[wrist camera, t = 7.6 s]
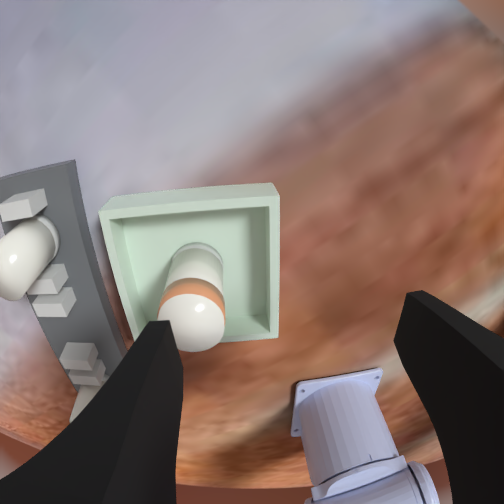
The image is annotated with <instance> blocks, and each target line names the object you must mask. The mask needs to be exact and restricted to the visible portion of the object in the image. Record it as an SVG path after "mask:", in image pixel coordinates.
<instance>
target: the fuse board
mask: <svg viewBox="0 0 504 504" xmlns="http://www.w3.org/2000/svg"><path fill="white" fill-rule="evenodd" d="M35 214H42V215H44V216H46V217H48V218H49V219H50V220H51V221H52V222H53V223H54V224H55V226H56V227H57V229H58V231H59V234H60V239H61V245H60V250H59V252H58V253H57V255H56V256H55V257H54V258H53V259H52V261H51V262H49V264H48V265H47V266H46V267H45V269H44V270H43V271H42V272H41V273H40V275H39V276H38V277H37V278H36V280H35V281H34V282H33V284H32V285H31V286H30V287H29V289H28V290H27V291H26V294H27V297H28V299H29V301H30V304H31V306H32V308H33V310H34V312H35V315H36V317H37V319H38V321H39V323H40V325H41V327H42V329H43V332H44V334H45V336H46V338H47V339H48V341H49V343H50V345H51V347H52V349H53V351H54V353H55V355H56V357H57V358H58V360H59V362H60V364H61V366H62V367H63V369H64V371H65V372H66V374H67V376H68V378H69V379H70V381H71V383H72V384H73V386H74V387H75V389H76V391H77V392H79V389H80V386H81V385H94V386H101V383H102V379H103V376H104V374H106V375H108V376H111V374H112V373H113V372H114V370H115V369H116V367H117V366H118V365H119V363H120V362H121V360H122V359H123V358H124V356H125V355H126V353H127V349H126V347H125V344H124V341H123V339H122V336H121V333H120V331H119V328H118V325H117V322H116V319H115V317H114V314H113V311H112V308H111V305H110V302H109V299H108V295H107V292H106V289H105V286H104V283H103V279H102V276H101V273H100V269H99V266H98V262H97V259H96V255H95V251H94V247H93V243H92V240H91V236H90V232H89V227H88V223H87V219H86V214H85V210H84V205H83V200H82V195H81V190H80V185H79V180H78V174H77V168H76V162H75V160H70V161H65V162H60V163H56V164H51V165H47V166H42V167H38V168H34V169H30V170H26V171H22V172H18V173H14V174H11V175H7V176H3V177H1V178H0V219H1V223H2V226H3V230H4V233H5V235H6V234H7V233H9V232H10V231H11V230H12V229H13V228H14V227H16V226H17V225H18V224H19V223H20V222H21V221H23V220H24V219H25V218H28V217H33V216H34V215H35Z"/></svg>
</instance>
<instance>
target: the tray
mask: <svg viewBox="0 0 504 504" xmlns="http://www.w3.org/2000/svg"><path fill="white" fill-rule="evenodd" d="M98 212H99V217H100V222H101V226H102V231H103V235H104V239H105V243H106V247H107V251H108V255H109V259H110V263H111V267H112V270H113V274H114V278H115V281H116V285H117V288H118V292H119V295H120V298H121V301H122V305H123V308H124V311H125V314H126V317H127V320H128V323H129V326H130V329H131V332H132V335H133V338H134V341H135V340H136V339H137V338H138V336H139V335H140V333H141V332H142V330H143V329H144V327H145V326H146V325H147V323H148V322H149V321H157V313H158V309H159V305H160V301H161V297H162V294H163V292H164V290H165V286H166V282H167V278H168V274H169V270H170V265H171V262H172V258H173V255H174V254H175V252H176V251H177V250H178V249H179V248H180V247H181V246H183V245H185V244H188V243H192V242H201V243H205V244H208V245H210V246H212V247H213V248H215V249H216V250H217V251H218V253H219V254H220V255H221V257H222V260H223V293H224V301H225V327H224V334H223V337H222V338H221V340H220V341H219V342H218V343H221V342H236V341H248V340H260V339H271V338H278V329H279V265H280V195H279V194H278V192H277V190H276V188H275V187H274V185H273V183H255V184H238V185H223V186H210V187H197V188H186V189H175V190H165V191H155V192H146V193H137V194H129V195H120V196H113V197H112V198H111V199H110V200H109V201H108V202H107V203H106V204H105V205H104V206H103V207H102V208H101V209H100V210H99V211H98Z"/></svg>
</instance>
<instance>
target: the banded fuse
mask: <svg viewBox="0 0 504 504" xmlns="http://www.w3.org/2000/svg"><path fill="white" fill-rule="evenodd" d="M160 320H170V323H171V327H172V331H173V334H174V338H175V342H176V345H177V349H179V350H182V351H188V352H199V351H204V350H207V349H210V348H212V347H213V346H215V345H216V344H217V343H218V342H219V341H220V340H221V338H222V337H223V334H224V327H225V301H224V293H223V260H222V257H221V255H220V254H219V253H218V251H217V250H216V249H215V248H213V247H212V246H210V245H208V244H205V243H201V242H192V243H188V244H185V245H183V246H181V247H180V248H179V249H178V250H177V251H176V252H175V254H174V255H173V258H172V262H171V265H170V270H169V274H168V278H167V282H166V286H165V290H164V292H163V294H162V297H161V301H160V305H159V309H158V313H157V321H160Z"/></svg>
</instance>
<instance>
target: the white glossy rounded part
mask: <svg viewBox="0 0 504 504" xmlns="http://www.w3.org/2000/svg"><path fill="white" fill-rule="evenodd" d="M60 245H61V239H60V234H59V231H58V229H57V227H56V226H55V224H54V223H53V222H52V221H51V220H50V219H49V218H48V217H46V216H44V215H42V214H35V215H34V216H33V217H28V218H25V219H24V220H23V221H21V222H20V223H19V224H18V225H17V226H16V227H14V228H13V229H12V230H11V231H10V232H9V233H7V234H6V235H5V236H4V237H3V238H1V239H0V297H2V298H4V299H6V300H9V301H17V300H19V299H21V298H22V297H23V295H24V294H25V293H26V291H27V290H28V289H29V287H30V286H31V285H32V284H33V282H34V281H35V280H36V278H37V277H38V276H39V275H40V273H41V272H42V271H43V270H44V269H45V267H46V266H47V265H48V264H49V262H51V261H52V259H53V258H54V257H55V256H56V255H57V253H58V252H59V250H60Z"/></svg>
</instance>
